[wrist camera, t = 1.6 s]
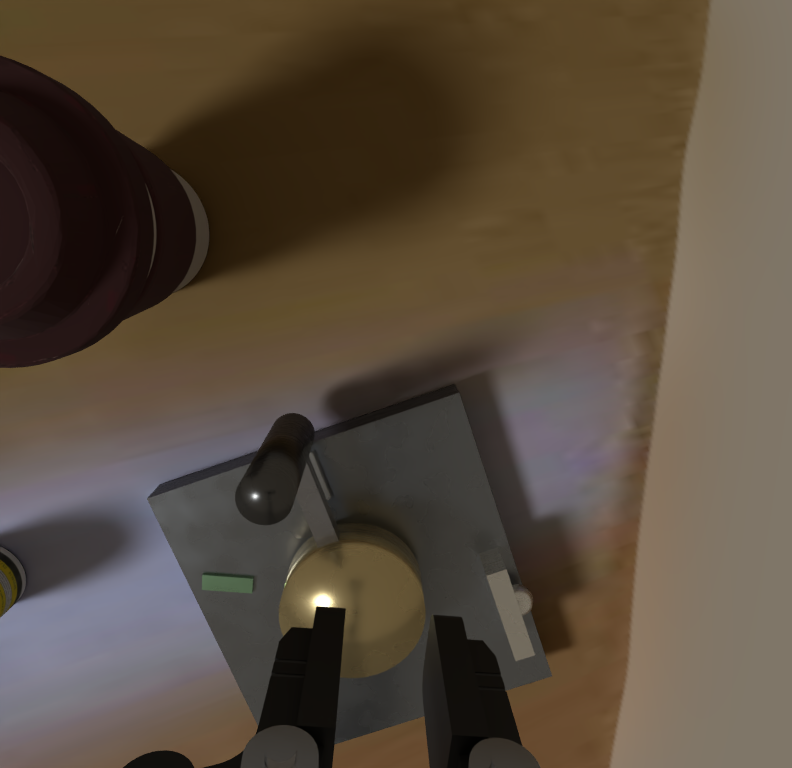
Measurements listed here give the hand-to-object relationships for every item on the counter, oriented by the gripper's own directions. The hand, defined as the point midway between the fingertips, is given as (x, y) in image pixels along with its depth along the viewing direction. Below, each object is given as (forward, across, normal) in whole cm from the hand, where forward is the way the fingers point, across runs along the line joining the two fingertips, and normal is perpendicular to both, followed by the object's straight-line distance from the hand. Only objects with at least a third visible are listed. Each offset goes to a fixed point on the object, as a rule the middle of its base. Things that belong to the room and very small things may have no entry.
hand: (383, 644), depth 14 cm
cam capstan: (+18, +2, +7) cm, 20 cm away
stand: (+21, 0, +11) cm, 24 cm away
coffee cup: (+21, +14, -9) cm, 27 cm away
